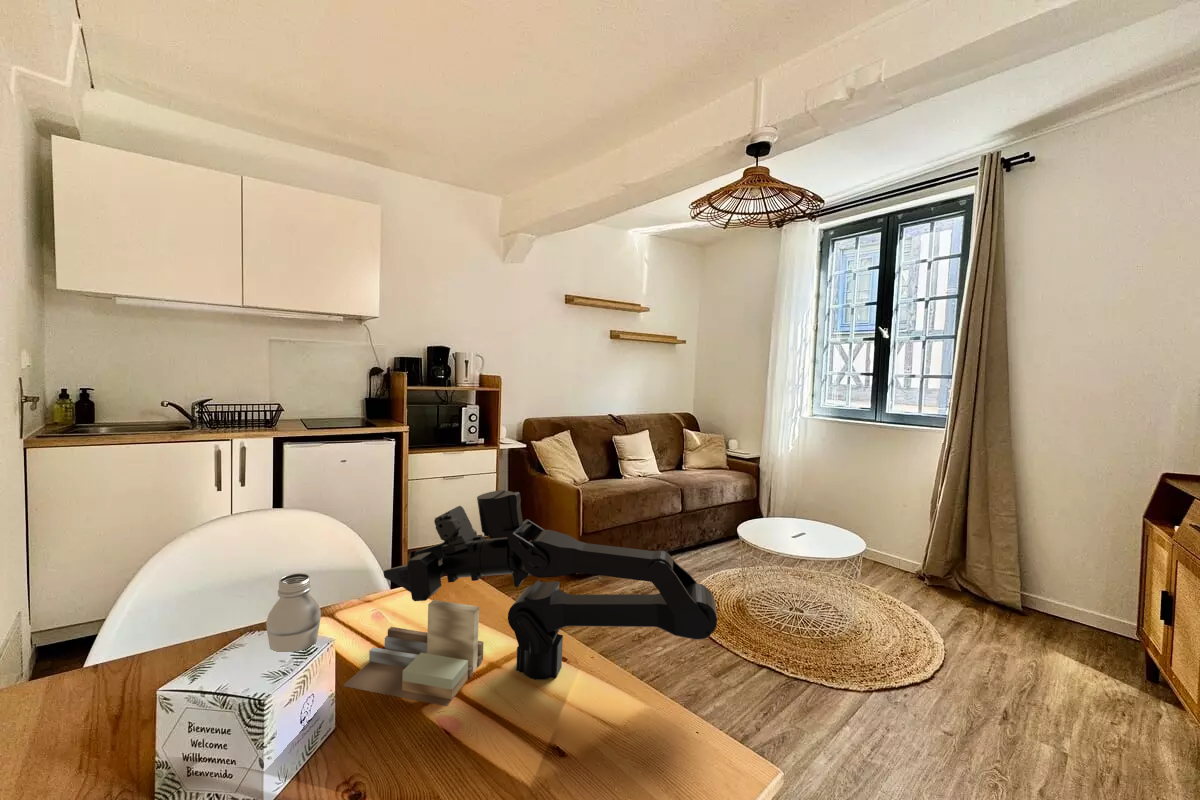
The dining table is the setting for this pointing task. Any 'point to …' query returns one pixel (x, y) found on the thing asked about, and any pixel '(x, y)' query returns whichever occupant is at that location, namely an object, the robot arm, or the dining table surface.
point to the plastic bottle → (293, 616)
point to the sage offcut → (435, 670)
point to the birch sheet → (453, 631)
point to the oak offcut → (434, 688)
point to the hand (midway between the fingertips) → (400, 563)
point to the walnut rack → (398, 666)
